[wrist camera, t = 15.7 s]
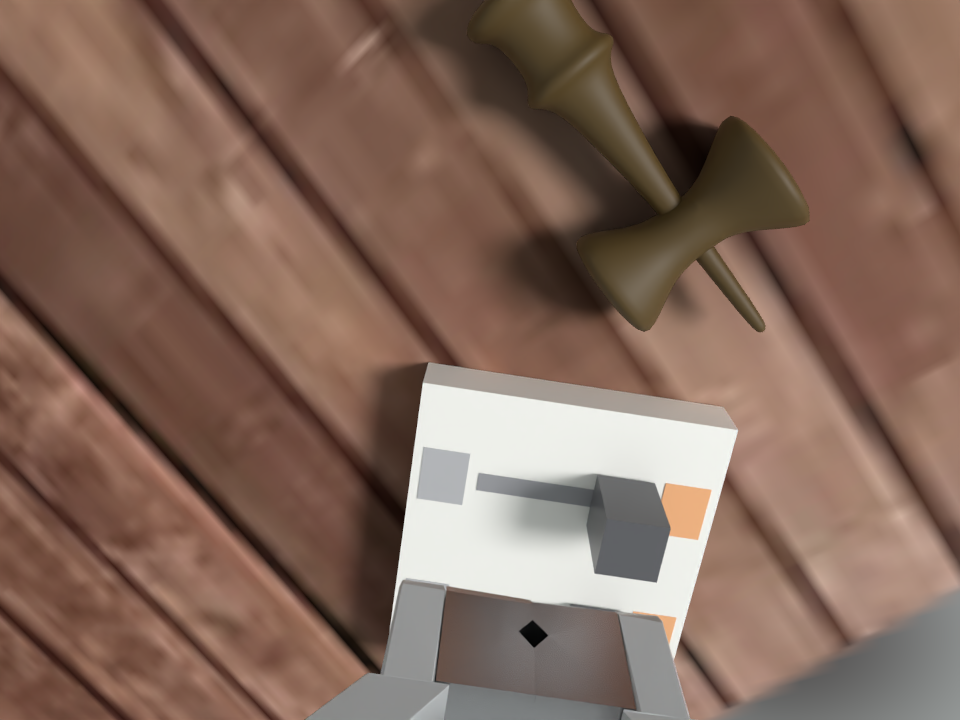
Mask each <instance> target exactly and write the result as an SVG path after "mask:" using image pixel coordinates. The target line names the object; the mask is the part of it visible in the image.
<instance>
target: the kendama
mask: <svg viewBox="0 0 960 720" xmlns="http://www.w3.org/2000/svg"><path fill="white" fill-rule="evenodd" d="M467 36H468V37H469V39H470V40H471V41H473V42H475V43H480V44H491V45H493V46H495V47H497V48H499V49H500V50H501V51H502V52H503V53H505V54H506V56H507V57H508V58H509V59H510V60H511V61H512V62H513V63H514V65H515V66H516V67H517V69H518V70H519V72H520V73H521V75H522V77H523V78H524V80H525V83H526V85H527V90H528V105H529V107H530V108H532V109H544V110H549V111H551V112H554V113H556V114H557V115H559V116H560V117H562V118H563V119H564V120H566V121H567V122H568V123H569V124H571V125H572V126H573V127H574V128H575V129H576V130H577V131H578V132H580V133H581V134H582V135H583V136H584V137H585V138H586V139H587V140H588V141H589V142H590V143H591V144H592V145H593V146H594V147H595V148H596V149H597V150H598V151H599V152H600V153H601V154H602V155H603V156H604V157H605V158H606V159H607V160H608V161H609V162H610V163H611V164H612V165H613V166H614V167H615V168H616V169H617V170H618V171H619V172H620V173H621V174H622V175H623V176H624V177H625V178H626V179H627V180H628V182H629V183H630V184H631V185H632V186H633V187H634V188H635V189H636V190H637V191H638V192H639V193H640V195H641V196H642V197H643V198H644V199H645V200H646V201H647V202H648V203H649V205H650V206H651V207H652V208H653V209H654V210H655V211H656V213H657V215H655V216H654V217H652V218H650V219H648V220H646V221H644V222H641V223H639V224H636V225H633V226H629V227H625V228H619V229H613V230H607V231H601V232H595V233H590V234H587V235H585V236H582V237H581V238H580V239H579V240H578V241H577V251H578V253H579V255H580V257H581V259H582V262H583V264H584V266H585V267H586V269H587V270H588V272H589V274H590V275H591V277H592V278H593V280H594V281H595V283H596V284H597V285H598V287H599V288H600V289H601V291H602V292H603V293H604V295H605V296H606V298H607V299H608V300H609V301H610V303H611V304H612V305H613V306H614V307H615V308H616V310H617V311H618V312H619V313H620V314H621V315H622V316H623V317H624V318H625V319H626V320H627V321H628V322H629V323H630V324H631V325H633V326H634V327H635V328H637V329H638V330H641V331H644V332H645V331H647V330H650V329H651V327H652V326H653V325H654V323H655V322H656V320H657V318H658V316H659V314H660V312H661V310H662V308H663V306H664V303H665V301H666V299H667V297H668V295H669V293H670V291H671V289H672V288H673V286H674V284H675V282H676V281H677V279H678V278H679V277H680V275H681V274H682V273H683V272H684V270H685V269H686V268H687V267H688V266H689V265H690V264H692V263H693V262H694V261H695V260H697V262H698V263H699V264H700V265H701V266H702V268H703V269H704V270H705V271H706V273H707V274H708V275H709V276H710V278H711V279H712V280H713V281H714V282H715V284H716V285H717V286H718V287H719V289H720V290H721V291H722V292H723V294H724V295H725V296H726V297H727V298H728V300H729V301H730V302H731V303H732V305H733V306H734V307H735V308H736V309H737V311H738V312H739V313H740V314H741V315H742V317H743V318H744V319H745V320H746V321H747V322H748V323H749V324H750V325H751V327H752V328H753V329H755V330H756V331H757V332H763V331H764V330H765V324H764V321H763V320H762V318H761V316H760V314H759V313H758V311H757V310H756V308H755V307H754V305H753V303H752V302H751V300H750V299H749V297H748V296H747V294H746V293H745V292H744V290H743V289H742V287H741V286H740V284H739V283H738V281H737V280H736V278H735V277H734V275H733V274H732V272H731V271H730V270H729V268H728V267H727V265H726V264H725V262H724V261H723V259H722V258H721V256H720V255H719V253H718V252H717V251H716V249H715V248H714V246H715V245H717V244H718V243H719V242H721V241H722V240H724V239H726V238H728V237H731V236H733V235H736V234H740V233H743V232H750V231H757V230H767V229H780V228H790V227H797V226H801V225H805V224H806V223H807V222H809V221H810V220H809V207H808V205H807V203H806V201H805V199H804V197H803V195H802V193H801V191H800V189H799V187H798V185H797V183H796V182H795V180H794V179H793V177H792V176H791V174H790V172H789V171H788V169H787V168H786V167H785V165H784V164H783V163H782V161H781V160H780V159H779V157H778V156H777V155H776V154H775V152H774V151H773V150H772V149H771V148H770V146H769V145H768V144H767V143H766V142H765V141H764V140H763V139H762V138H761V137H760V136H759V135H758V134H757V133H756V131H755V130H753V129H752V128H751V127H750V126H749V125H748V124H747V123H746V122H744V121H742V120H741V119H739V118H737V117H733V116H730V117H728V118H727V119H726V120H724V121H723V122H722V123H721V125H720V127H719V129H718V131H717V133H716V136H715V138H714V140H713V143H712V146H711V148H710V151H709V153H708V156H707V158H706V161H705V163H704V166H703V168H702V170H701V172H700V174H699V176H698V178H697V179H696V181H695V182H694V184H693V185H692V187H691V188H690V189H689V190H688V191H687V193H686V194H684V195H683V196H680V195H679V193H678V191H677V190H676V188H675V187H674V185H673V184H672V182H671V180H670V179H669V177H668V175H667V174H666V172H665V170H664V169H663V167H662V165H661V164H660V162H659V160H658V159H657V157H656V155H655V153H654V152H653V150H652V148H651V146H650V145H649V143H648V141H647V139H646V138H645V136H644V134H643V132H642V130H641V128H640V127H639V125H638V123H637V121H636V119H635V117H634V115H633V114H632V112H631V110H630V108H629V106H628V104H627V102H626V100H625V98H624V96H623V94H622V92H621V90H620V88H619V85H618V83H617V80H616V78H615V76H614V72H613V69H612V66H611V50H612V46H613V38H612V36H610V35H609V34H605V33H600V32H597V31H595V30H593V29H592V28H591V27H589V26H588V25H587V24H586V22H585V21H584V20H583V19H582V17H581V16H580V14H579V13H578V11H577V10H576V8H575V6H574V5H573V3H572V1H571V0H485V1H484V2H483V3H482V4H481V6H480V7H479V8H478V9H477V10H476V12H475V13H474V15H473V16H472V18H471V20H470V22H469V24H468V27H467Z"/></svg>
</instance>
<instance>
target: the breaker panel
mask: <svg viewBox="0 0 960 720" xmlns="http://www.w3.org/2000/svg"><path fill="white" fill-rule="evenodd" d="M737 433H738V429H737V428H736V426H735V424H734V423H733V421H732V420H731V418H730V417H729V415H728V413H727V412H726V410H725V409H724V407H721V406H714V405H707V404H701V403H694V402H687V401H681V400H674V399H668V398H661V397H654V396H648V395H641V394H634V393H628V392H621V391H615V390H608V389H601V388H595V387H588V386H582V385H575V384H568V383H562V382H555V381H548V380H542V379H535V378H529V377H522V376H515V375H509V374H502V373H495V372H489V371H482V370H476V369H469V368H462V367H456V366H449V365H442V364H436V363H429V362H428V366H427V370H426V373H425V377H424V380H423V386H422V393H421V401H420V408H419V415H418V423H417V430H416V438H415V445H414V453H413V460H412V468H411V475H410V483H409V490H408V498H407V505H406V513H405V520H404V528H403V535H402V542H401V550H400V557H399V565H398V572H397V580H396V587H395V595H394V602H393V610H392V617H391V623H392V619H393V614H394V609H395V605H396V600H397V595H398V591H399V586H400V584H401V582H402V581H403V580H410V581H417V582H424V583H431V584H437V585H444V587H445V593H446V587H447V586H450V587H456V588H462V589H468V590H474V591H480V592H486V593H492V594H498V595H504V596H510V597H515V598H521V599H527V600H531V601H534V602H541V603H549V604H556V605H564V606H570V604H572V605H579V606H586V607H593V608H600V609H607V610H613V611H620V612H627V613H636V614H645V615H654V616H658V617H659V618H660V619H661V620H662V621H663V625H664V628H665V632H666V635H667V639H668V642H669V646H670V649H671V653H672V656H673V660H674V657H675V654H676V650H677V646H678V643H679V639H680V636H681V632H682V629H683V625H684V621H685V618H686V614H687V611H688V607H689V604H690V600H691V596H692V593H693V589H694V586H695V582H696V579H697V575H698V572H699V568H700V564H701V561H702V557H703V554H704V550H705V547H706V543H707V539H708V536H709V532H710V529H711V525H712V522H713V518H714V515H715V511H716V507H717V504H718V500H719V497H720V493H721V490H722V486H723V482H724V479H725V475H726V472H727V468H728V465H729V461H730V457H731V454H732V450H733V447H734V443H735V440H736V436H737ZM597 475H604V476H611V477H617V478H624V479H631V480H637V481H644V482H651V483H655V485H656V487H657V490H658V493H659V496H660V499H661V502H662V504H663V507H664V510H665V513H666V516H667V519H668V522H669V524H670V527H671V530H670V534H669V538H668V541H667V545H666V549H665V553H664V557H663V561H662V564H661V568H660V572H659V576H658V580H657V583H655V582H648V581H641V580H634V579H628V578H621V577H614V576H607V575H600V574H594V568H593V562H592V556H591V550H590V544H589V538H588V532H587V526H586V524H587V519H588V515H589V510H590V506H591V501H592V497H593V492H594V488H595V483H596V479H597ZM390 628H391V625H390ZM389 633H390V632H389Z"/></svg>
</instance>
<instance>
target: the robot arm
mask: <svg viewBox="0 0 960 720" xmlns="http://www.w3.org/2000/svg"><path fill="white" fill-rule="evenodd" d="M305 720H693V719H690V716H689V712H688V709H687V705H686V702H685V698H684V695H683V691H682V688H681V684H680V681H679V677H678V674H677V670H676V667H675V663H674V660H673V656H672V653H671V649H670V646H669V642H668V639H667V635H666V632H665V628H664V625H663V621H662V620H661V619H660V618H659V617H658V616H654V615H645V614H636V613H627V612H618V611H615V612H609V611H602V610H594V609H587V608H579V607H572V606H564V605H556V604H549V603H541V602H534V601H531V600H527V599H521V598H515V597H510V596H504V595H498V594H492V593H486V592H480V591H474V590H468V589H462V588H456V587H450V586H447V587H446V593H445V587H444V585H437V584H431V583H424V582H417V581H410V580H403V581H402V582H401V584H400V586H399V591H398V595H397V600H396V605H395V609H394V614H393V619H392V623H391V628H390V633H389V637H388V642H387V647H386V651H385V656H384V661H383V665H382V670H381V674H372V673H367V674H365V675H364V676H363V677H361V678H360V679H359V680H357V681H356V682H354V683H353V684H352V685H350V686H349V687H348V688H346V689H345V690H344V691H342V692H341V693H340V694H338V695H337V696H336V697H334V698H333V699H332V700H330V701H329V702H328V703H326V704H325V705H324V706H322V707H321V708H320V709H318V710H317V711H316V712H314V713H313V714H311V715H310V716H309V717H307V718H306V719H305Z"/></svg>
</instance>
